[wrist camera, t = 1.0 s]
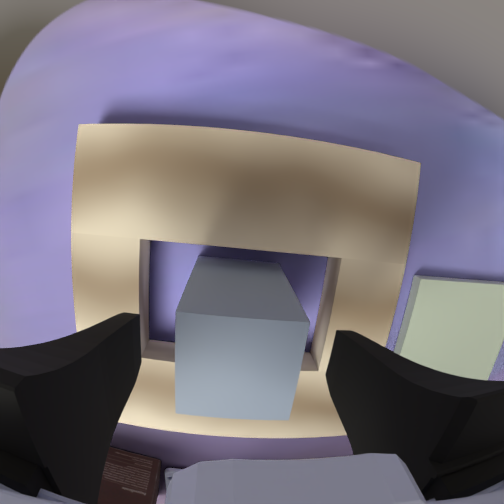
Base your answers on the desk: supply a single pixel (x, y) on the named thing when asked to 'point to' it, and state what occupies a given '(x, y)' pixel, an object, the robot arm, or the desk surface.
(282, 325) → the slate block
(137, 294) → the pocket board
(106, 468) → the box
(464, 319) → the tile
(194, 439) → the desk surface
